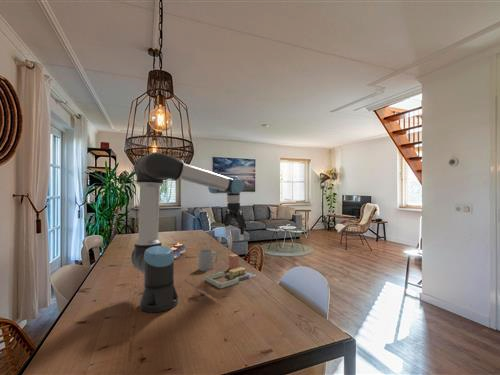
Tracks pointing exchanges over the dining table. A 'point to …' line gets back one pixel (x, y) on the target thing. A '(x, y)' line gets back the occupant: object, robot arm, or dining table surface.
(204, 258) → the mug
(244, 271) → the chip
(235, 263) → the salmon pink flat-faced block
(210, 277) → the tray
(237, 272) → the chip
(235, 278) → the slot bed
